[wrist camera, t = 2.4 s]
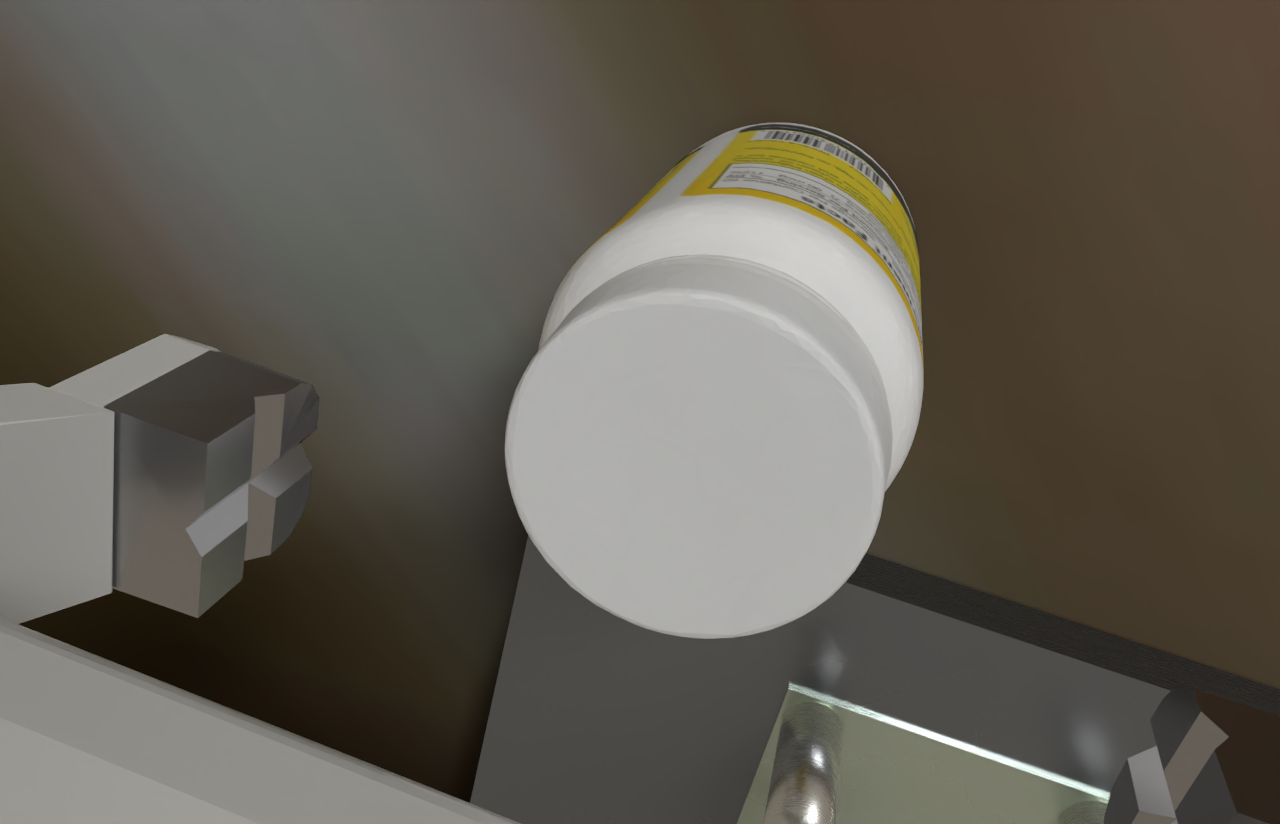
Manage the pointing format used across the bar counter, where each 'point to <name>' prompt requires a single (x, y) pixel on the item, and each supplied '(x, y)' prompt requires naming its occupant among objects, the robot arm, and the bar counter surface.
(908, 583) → the grey fixture plate
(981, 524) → the bar counter surface
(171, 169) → the bar counter surface
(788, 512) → the supplement bottle
